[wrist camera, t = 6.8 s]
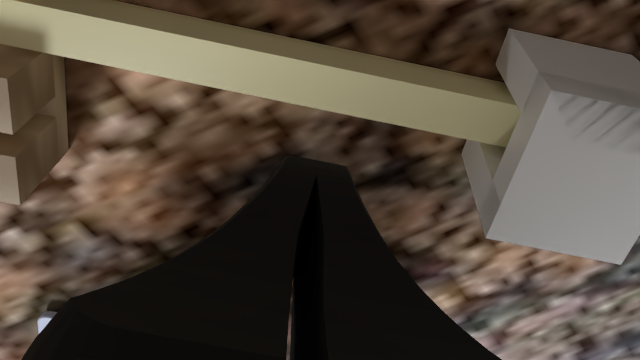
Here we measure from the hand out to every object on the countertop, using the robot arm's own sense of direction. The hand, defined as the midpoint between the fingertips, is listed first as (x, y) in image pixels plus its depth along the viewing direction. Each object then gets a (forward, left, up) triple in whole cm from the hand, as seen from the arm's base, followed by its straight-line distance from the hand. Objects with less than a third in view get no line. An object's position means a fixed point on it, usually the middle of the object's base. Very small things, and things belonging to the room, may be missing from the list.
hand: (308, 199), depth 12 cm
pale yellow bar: (0, -2, -8) cm, 8 cm away
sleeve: (0, -7, -8) cm, 11 cm away
